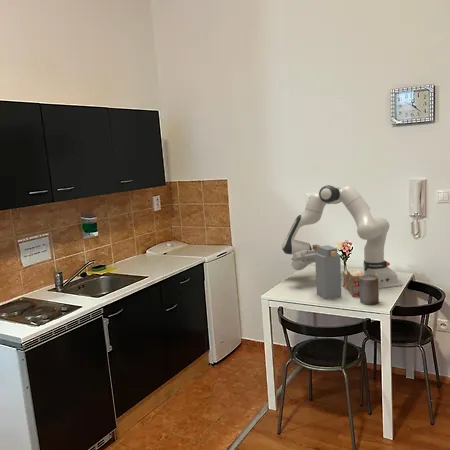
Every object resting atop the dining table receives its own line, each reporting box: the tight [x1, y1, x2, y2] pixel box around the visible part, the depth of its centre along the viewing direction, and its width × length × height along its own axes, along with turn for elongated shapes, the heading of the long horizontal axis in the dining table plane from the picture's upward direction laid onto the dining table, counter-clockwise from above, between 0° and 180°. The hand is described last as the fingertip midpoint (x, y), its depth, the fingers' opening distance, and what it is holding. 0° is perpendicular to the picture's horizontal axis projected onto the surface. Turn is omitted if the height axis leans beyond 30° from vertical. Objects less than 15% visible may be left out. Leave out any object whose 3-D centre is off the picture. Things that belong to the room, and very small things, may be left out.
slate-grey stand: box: [314, 245, 342, 300], centre depth 251 cm, size 10×10×28 cm
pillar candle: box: [359, 274, 380, 306], centre depth 238 cm, size 10×10×15 cm
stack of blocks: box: [342, 269, 364, 298], centre depth 258 cm, size 21×6×12 cm, turn 0°
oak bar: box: [311, 243, 336, 257], centre depth 253 cm, size 22×3×3 cm, turn 17°
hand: (314, 250), depth 265 cm, fingers open, 8 cm apart
